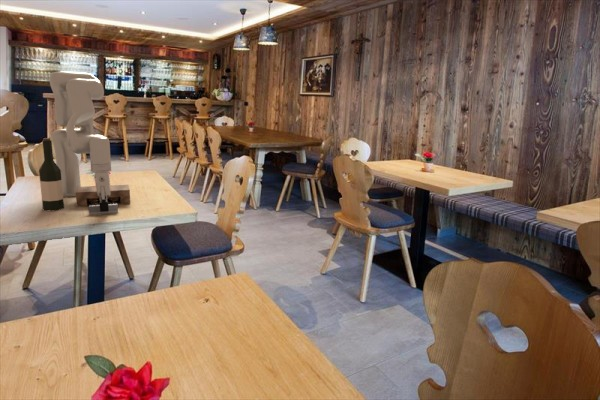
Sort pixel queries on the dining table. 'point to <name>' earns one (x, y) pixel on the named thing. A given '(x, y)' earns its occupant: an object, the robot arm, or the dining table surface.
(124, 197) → the shelf
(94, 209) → the tray
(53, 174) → the wine bottle
